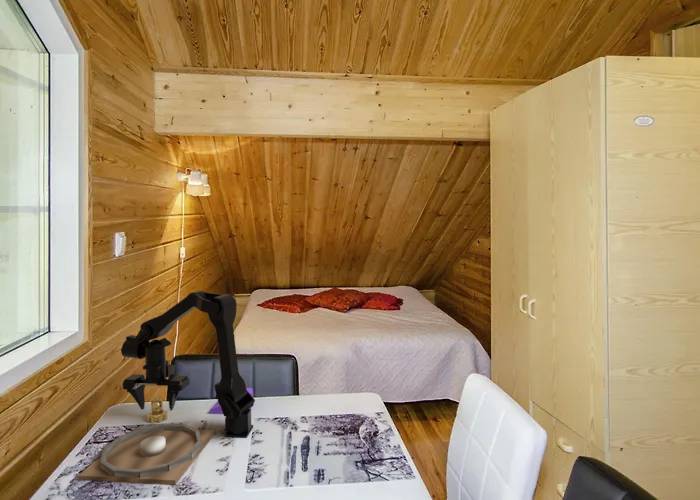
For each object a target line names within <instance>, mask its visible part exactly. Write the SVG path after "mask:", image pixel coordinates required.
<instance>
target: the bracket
mask: <svg viewBox="0 0 700 500" xmlns="http://www.w3.org/2000/svg"><path fill="white" fill-rule="evenodd" d="M246 389H247V391H248V392H249V393H250V395H251V396H252V397H253V398H254V390H253V389H254V388H253V387H246ZM253 407H254V405H253V406H252V407H251V408H250V409H251V410H252V408H253ZM209 414H210V415H211V414H212V415H223V412H222V409H221V406H220V405H219V403H218V400H217V401H216V403H214V405H213V406H212V407H211V408H210V409H209Z"/></svg>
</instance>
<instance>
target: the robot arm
mask: <svg viewBox="0 0 700 500" xmlns="http://www.w3.org/2000/svg"><path fill="white" fill-rule="evenodd" d="M195 309H197V310H199V311H200V312H203V313H206V314H207V315H208V319H209V322H210V323H211V324H212V325H213V327H214V329H215V335H216V344H217V351H218V359H219V367H220V375H221V376H220V381H218V382H217V383H216V384H214V391H215V400H217V401H218V403H219V405H220V406H221V409H222V412H223V414H222V415H223V416H224V420H225V421H224V422H225V424H224V425H225V430H224V431H225V434H224V436H225V437H229V438H230V437H233V438H247V437H248V436H249V434H250V433H251V432H252V430H253V429H254V425H253V424H252V408H253V407H254V405H255V402H256V399H255V398H254V396H253V397H252V396H251V395H250V393H249V392H248V391H247V389H246V388H247V386H246V383H245V380H244V378H243V377H242V376H241V375H240V373H239V365H238V358H237V348H236V340H235V331H234V322H235V319H236V316H237V299H236V298H235V297H234V296H232V295H231V294H229V293H228V294H227V293H225V294H219V293H213V292H207V291H203V290H196V291H192V292H189V294H188V295H186V296H185V297H184V298H183V299H182V300H180V301H179V302H177V303H176V304H174V305H173V306H171V308H169V309H167V310H166V311H165V312H163V313H162V314H159V315H158V316H155V317H153V318H150V319H149V320H146V321H144V322H142V323H141V325H139V326H140V327H139V328H140V330H139V331H138V333H137V335H134V334H133V335H132V334H130V335H127V336H125V341H123V343H122V346H121V348H120V353H121V355H122V356H123V358H131V359H138V360H143V359H144V365H142V370H145V375H144V374H137V373H135V374H131V375H129V376H128V377H126V378H125V379H124V380H122V384H121V386H122V390H126V392H127V393H129V394H130V395H131V396H132V398H133V399H134V401H136V403H137V405H138V407H139V408H140V409H141V410H144V409H145V406H146V405H145V403H146V401H145V400H146V399H145V388H146V386H161V387H164V386H165V387H166V386H167V387H168V391H167V396H168V397H167V398H168V406H169V411H173V410H174V407H175V404H176V401H177V398H178V395H179V393H180V392H181V391H183V390H184V389H186V388H187V387H188V386H189V385H190V378H189V376H188V375H176V376H175V374H176V373H175V372H176V368H177V367H176V364H169V360H167V359H166V347H169V346H171V345H172V342H171V341H170V340H168V339H167V337H164V338H160V337H163V336H165V335H167V333H169V332H170V331H171V330H172V329H173V326H174V324H176V323H177V322H178V321H179V320H180V319H182V318H183V317H185V316H186V315H188V314H189V313H191V312H192V311H193V310H195ZM158 338H160V339H158ZM171 376H174V377H172V378H171V379H169V378H170V377H171ZM252 406H253V407H252ZM251 407H252V408H251ZM250 408H251V409H250Z"/></svg>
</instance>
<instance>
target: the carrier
mask: <svg viewBox="0 0 700 500" xmlns="http://www.w3.org/2000/svg"><path fill="white" fill-rule="evenodd" d="M216 433H217V431H216V430H215V429H197V428H194V427H192V426H190V425H188V424H183V423H161V424H156V425H155V424H154V425H150V426H145V427H142V426H141V427H140V426H136V427H134V428H133V429H132V430H131V431H129V432H127V433H125V434H123V435H120V436H118V437H116V438H115V439H114V440H113V441H112V442H110V443H109V444H108V445H107V446H105V447H104V448H103V449H102V450H101V456H100V457H98V458H97V459H96V460H95V461H94V462H92V463H91V464H90V465H89V466H87V467H86V468H85V469H84V470H82V471H81V472H80V474H78V475H77V480H78V481H79V480H80V481H82V480H83V481H97V482H99V481H101V482H115V483H116V482H118V483H120V482H121V483H135V484H136V483H138V484H139V483H140V484H157V485H177V483H178V482H179V480H180V479H182V477H183V476H184V474H185V473H186V472H187V470H189V468H190V467H191V466H192V464H193V463H194V461H196V459H197V458H199V455H201V453H202V452H203V450H205V448H206V447H207V445H208V444H209V443H210V441H211V440H212V439H213V438H214V436H215V435H216Z"/></svg>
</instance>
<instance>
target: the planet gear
mask: <svg viewBox="0 0 700 500" xmlns="http://www.w3.org/2000/svg"><path fill="white" fill-rule="evenodd" d="M150 402H151V403H150V404H151V407H150V408H151V411H149V412H148V413H147V416H146V418H147V419H146V420H147V422H148V423H151V424H155V423H162V422H163V421H166V420H167V419H168V410H167V409H165V410H164V404H163V403H164V401H163V398H161V397H157V398H153V399H152V400H151V401H150Z"/></svg>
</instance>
